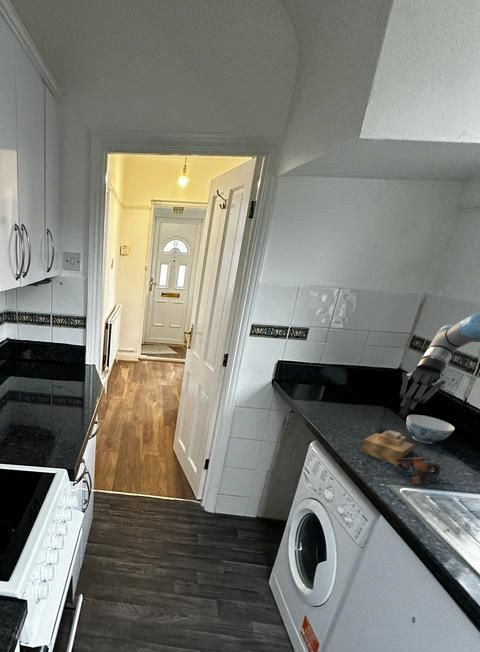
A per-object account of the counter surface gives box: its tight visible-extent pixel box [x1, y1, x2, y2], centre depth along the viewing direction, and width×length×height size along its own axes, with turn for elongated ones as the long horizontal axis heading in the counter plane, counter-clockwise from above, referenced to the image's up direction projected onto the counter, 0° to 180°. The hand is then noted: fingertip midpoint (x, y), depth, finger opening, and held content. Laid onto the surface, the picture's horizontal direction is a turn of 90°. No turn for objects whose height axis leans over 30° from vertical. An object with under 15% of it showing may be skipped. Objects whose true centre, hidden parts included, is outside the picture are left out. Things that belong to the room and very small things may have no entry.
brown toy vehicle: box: [393, 456, 442, 485], centre depth 132 cm, size 12×10×8 cm
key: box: [385, 429, 402, 439], centre depth 146 cm, size 4×4×2 cm
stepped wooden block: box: [359, 430, 414, 465], centre depth 146 cm, size 12×11×7 cm
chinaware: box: [406, 414, 455, 445], centre depth 161 cm, size 15×15×8 cm
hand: (401, 415), depth 144 cm, fingers closed
